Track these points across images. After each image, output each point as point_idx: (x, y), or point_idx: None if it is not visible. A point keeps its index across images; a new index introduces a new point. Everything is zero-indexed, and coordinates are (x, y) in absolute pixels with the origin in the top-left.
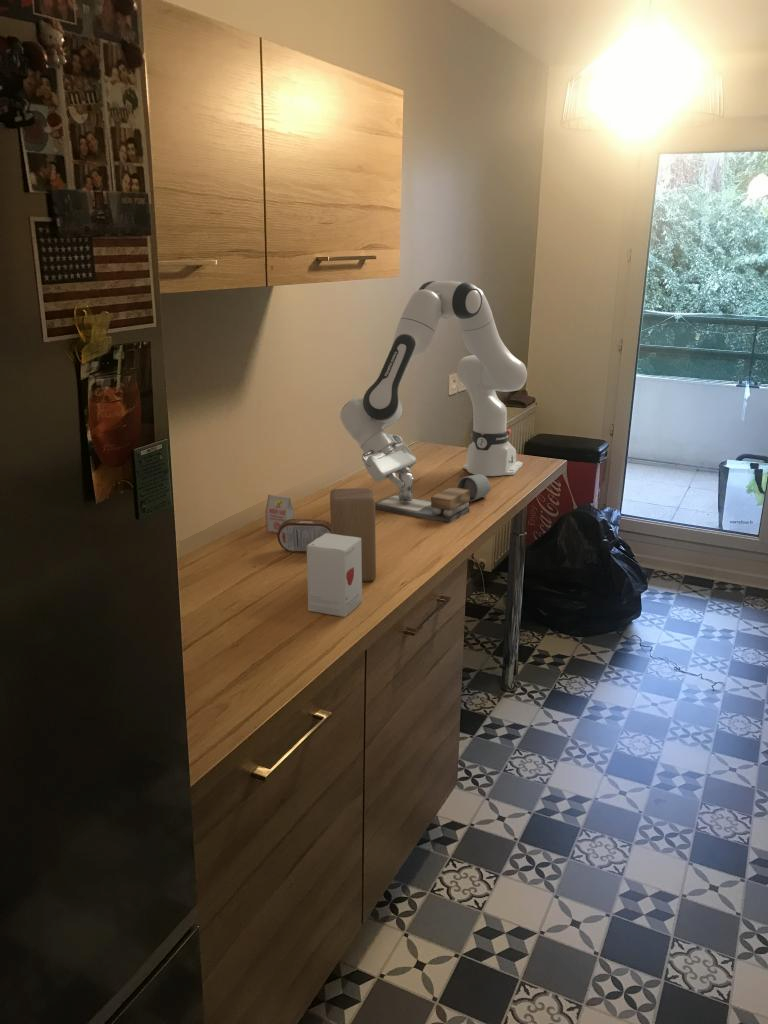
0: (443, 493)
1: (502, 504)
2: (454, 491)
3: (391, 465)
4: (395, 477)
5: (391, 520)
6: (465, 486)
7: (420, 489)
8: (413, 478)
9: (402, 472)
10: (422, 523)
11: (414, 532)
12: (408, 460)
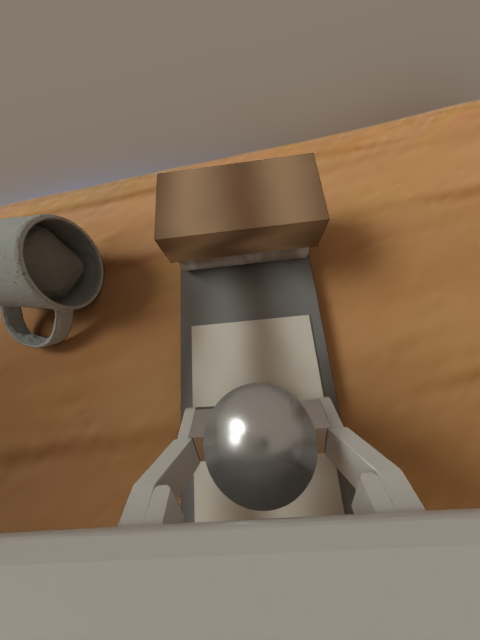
0: (256, 211)
1: (87, 206)
2: (206, 198)
3: (462, 636)
4: (383, 457)
5: (404, 358)
6: (43, 282)
7: (24, 506)
8: (189, 413)
9: (250, 486)
10: (353, 267)
11: (431, 240)
12: (25, 602)
